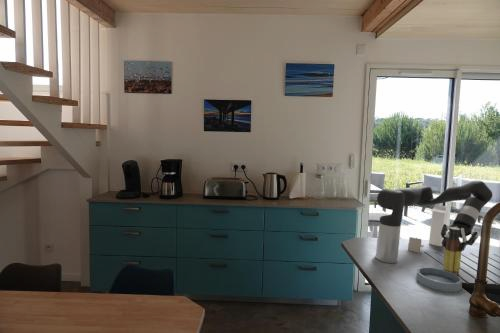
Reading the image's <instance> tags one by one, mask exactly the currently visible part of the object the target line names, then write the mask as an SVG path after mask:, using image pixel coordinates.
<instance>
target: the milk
mask: <svg viewBox="0 0 500 333" xmlns="http://www.w3.org/2000/svg"><path fill="white" fill-rule="evenodd" d="M431 212H432V213H431V220H430V222H431V223H430V232H429V238H428V239H429V240H428V244H429V245H433V246H437V247H443V245H442V241H443V239H444V238H442V236H441V231H442V228H443V225H444V224H446V225H447V218H448V217H447V216H448V210H447V206H446V205H440V204H434V206H433V209H432V211H431Z"/></svg>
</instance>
